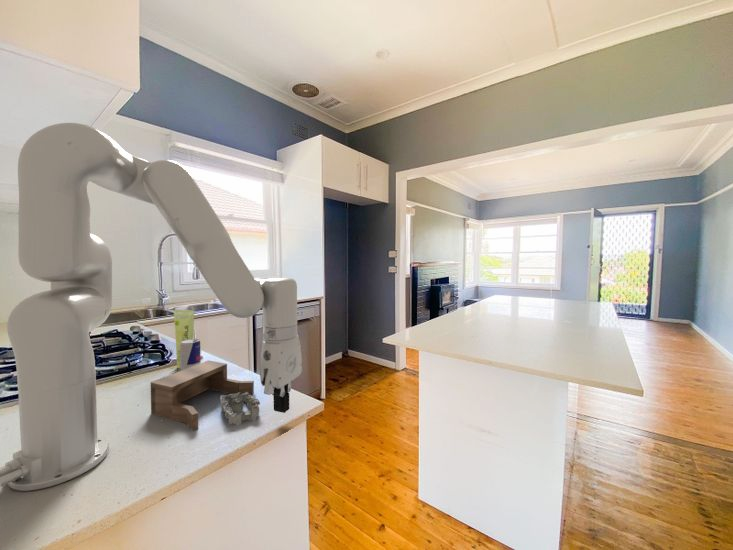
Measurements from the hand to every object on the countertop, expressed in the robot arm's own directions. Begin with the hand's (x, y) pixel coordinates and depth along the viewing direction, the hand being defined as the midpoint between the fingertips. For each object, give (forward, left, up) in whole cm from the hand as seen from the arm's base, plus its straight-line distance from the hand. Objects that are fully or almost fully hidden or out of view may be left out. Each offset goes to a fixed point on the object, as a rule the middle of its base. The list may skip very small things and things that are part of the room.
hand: (281, 410), depth 69 cm
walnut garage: (0, +23, -3) cm, 23 cm away
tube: (+17, +51, -3) cm, 54 cm away
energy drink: (+10, +40, -3) cm, 41 cm away
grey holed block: (0, +12, -3) cm, 12 cm away
